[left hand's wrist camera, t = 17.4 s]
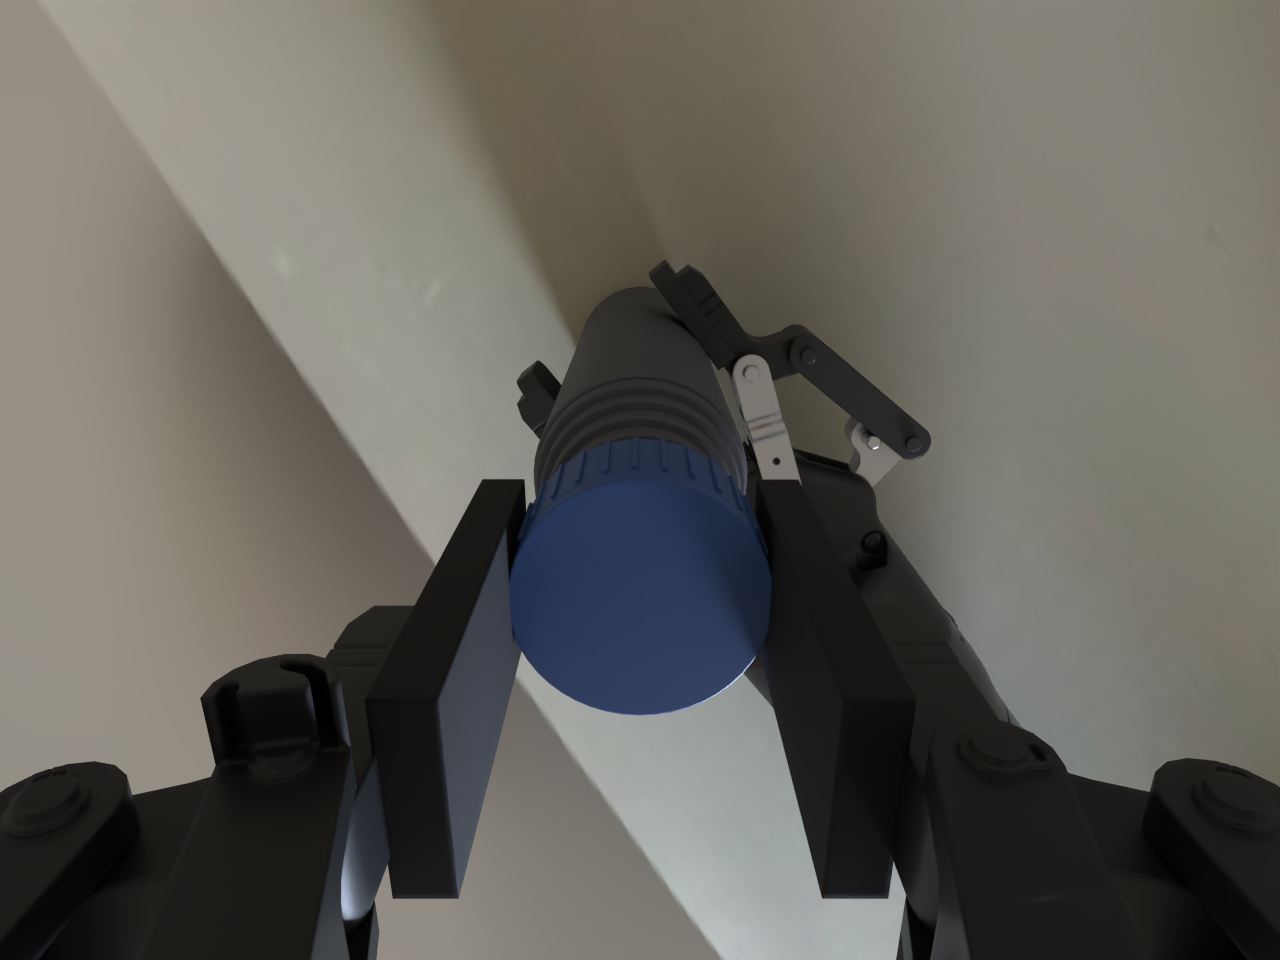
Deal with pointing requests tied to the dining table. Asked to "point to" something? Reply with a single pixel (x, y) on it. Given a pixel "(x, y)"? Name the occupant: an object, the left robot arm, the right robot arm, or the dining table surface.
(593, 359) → the bottle
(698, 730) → the dining table surface
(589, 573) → the cap
